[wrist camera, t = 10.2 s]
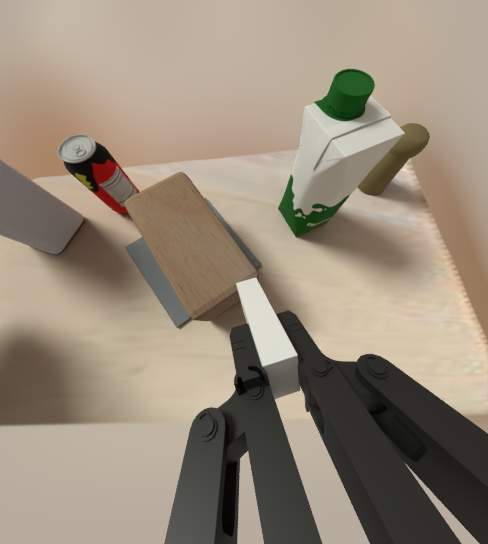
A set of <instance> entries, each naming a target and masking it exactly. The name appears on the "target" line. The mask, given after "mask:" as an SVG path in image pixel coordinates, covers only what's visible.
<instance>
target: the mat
mask: <svg viewBox="0 0 488 544" xmlns="http://www.w3.org/2000/svg"><path fill="white" fill-rule="evenodd" d="M204 199H205V201H206V202H207V203H208V205H209V206H210V207H211V209H212V210H213V211H214V213H215V214H216V216H217V217H218V218H219V220H220V221H221V222H222V224H223V225H224V226H225V228H226V229H227V231H228V232H229V233H230V235H231V236H232V237H233V239H234V240H235V242H236V243H237V244H238V246H239V247H240V248H241V250H242V251H243V252H244V254H245V255H246V257H247V258H248V259H249V261H250V262H251V263H252V265H253V266H254V267H255V269H257V268H258V267H259V266H261V263H260V262H259V261H258V260H257V259H256V257H255V256H254V255H253V254H252V253H251V251H250V250H249V249H248V248H247V247H246V245H245V244H244V243H243V242H242V241H241V239H240V238H239V237H238V236H237V235H236V234H235V232H234V231H233V230H232V229H231V228H230V226H229V225H228V224H227V223H226V222H225V220H224V219H223V218H222V217H221V216H220V214H219V213H218V212H217V211H216V210H215V209H214V207H213V206H212V205H211V204H210V203H209V201H208V200H207V199H206V198H204ZM125 248H126V249H127V251H128V253H129V254H130V256H131V257H132V259H133V260H134V262H135V263H136V265H137V267H138V268H139V270H140V271H141V273H142V274H143V276H144V277H145V279H146V281H147V282H148V284H149V285H150V287H151V288H152V290H153V291H154V293H155V295H156V296H157V298H158V299H159V301H160V302H161V304H162V305H163V307H164V309H165V310H166V312H167V313H168V315H169V316H170V318H171V319H172V321H173V323H174V324H175V326H176V327H177V328H178V327H179V326H180V325H182V324H183V323H184V322H186V321H187V320H188V319H190V318H191V317H189V315H188V314H187V312H186V310H185V309H184V307H183V305H182V303H181V302H180V300H179V298H178V297H177V295H176V293H175V291H174V290H173V288H172V286H171V285H170V283H169V281H168V279H167V278H166V276H165V274H164V273H163V271H162V269H161V267H160V266H159V264H158V262H157V261H156V259H155V257H154V255H153V254H152V252H151V250H150V249H149V247H148V245H147V244H146V242H145V240H144V238H143V237H141V238H140V239H138V240H137V241H135V242H133V243H132V244H130V245H129V246H127V247H125Z"/></svg>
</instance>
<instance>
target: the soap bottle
mask: <svg viewBox="0 0 488 544" xmlns="http://www.w3.org/2000/svg"><path fill="white" fill-rule="evenodd" d="M83 219H84V218H83V216H82V215H81V214H80V213H78V212H77V211H75V210H74V209H72V208H71V207H70V206H68V205H67V204H65V203H64V202H62V201H61V200H59V199H58V198H56V197H55V196H53V195H52V194H50V193H49V192H47V191H46V190H44V189H43V188H41V187H40V186H39V185H37V184H36V183H34V182H33V181H31V180H30V179H28V178H27V177H25V176H24V175H22V174H21V173H19V172H18V171H16V170H15V169H13V168H12V167H10V166H9V165H7V164H6V163H5V162H3V161H2V160H0V235H2V236H4V237H7V238H10V239H13V240H15V241H18V242H21V243H23V244H26V245H29V246H32V247H34V248H37V249H40V250H43V251H45V252H48V253H51V254H58V253H60V252H61V251H62V250H63V249H64V248H65V246H66V245H67V244H68V242H69V241H70V239H71V238H72V237H73V235H74V234H75V232H76V231H77V230H78V228H79V227H80V225H81V224H82V222H83Z"/></svg>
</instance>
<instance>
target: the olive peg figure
mask: <svg viewBox="0 0 488 544" xmlns="http://www.w3.org/2000/svg"><path fill="white" fill-rule="evenodd" d="M400 128H401V129H402V130H403V131H404V132H405V134H404V135H403V136H402V137H401V138H400V139H399V140H398V141H397V143H396V144H395V145H394V146H393V147H392V148H391V149H390V150H389V151H388V152H387V153H386V155H385V156H384V157H383V158H382V159H381V160H380V161H379V162H378V163H377V164H376V166H375V167H374V168H373V169H372V170H371V171H370V172H369V173H368V174H367V176H366V177H365V178H364V179H363V180H362V182H361V183H360V184H359V185H358V186H357V187H358V188H359V189H360V191H362V192H363V193H365V194H368V195H378V194H380V193H382V191H383V190H384V189H385V188H386V187H387V185H388V184H389V183H390V182H391V180H392V179H393V178H394V177H395V175H396V174H397V173H398V172H399V170H400V169H401V168H402V167H403V166H404V164H405V163H406V162H407V161H408V159H409V158H412V157H414V156H416V155H417V154H419V153H420V152H421V151H422V150H423V149H424V148H425V146H426V145H427V143H428V141H429V137H430V136H429V133H428V131H427V129H426V128H425V127H423V126H422V125H419V124H414V123H410V124H406V125H404V126H402V127H400Z"/></svg>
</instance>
